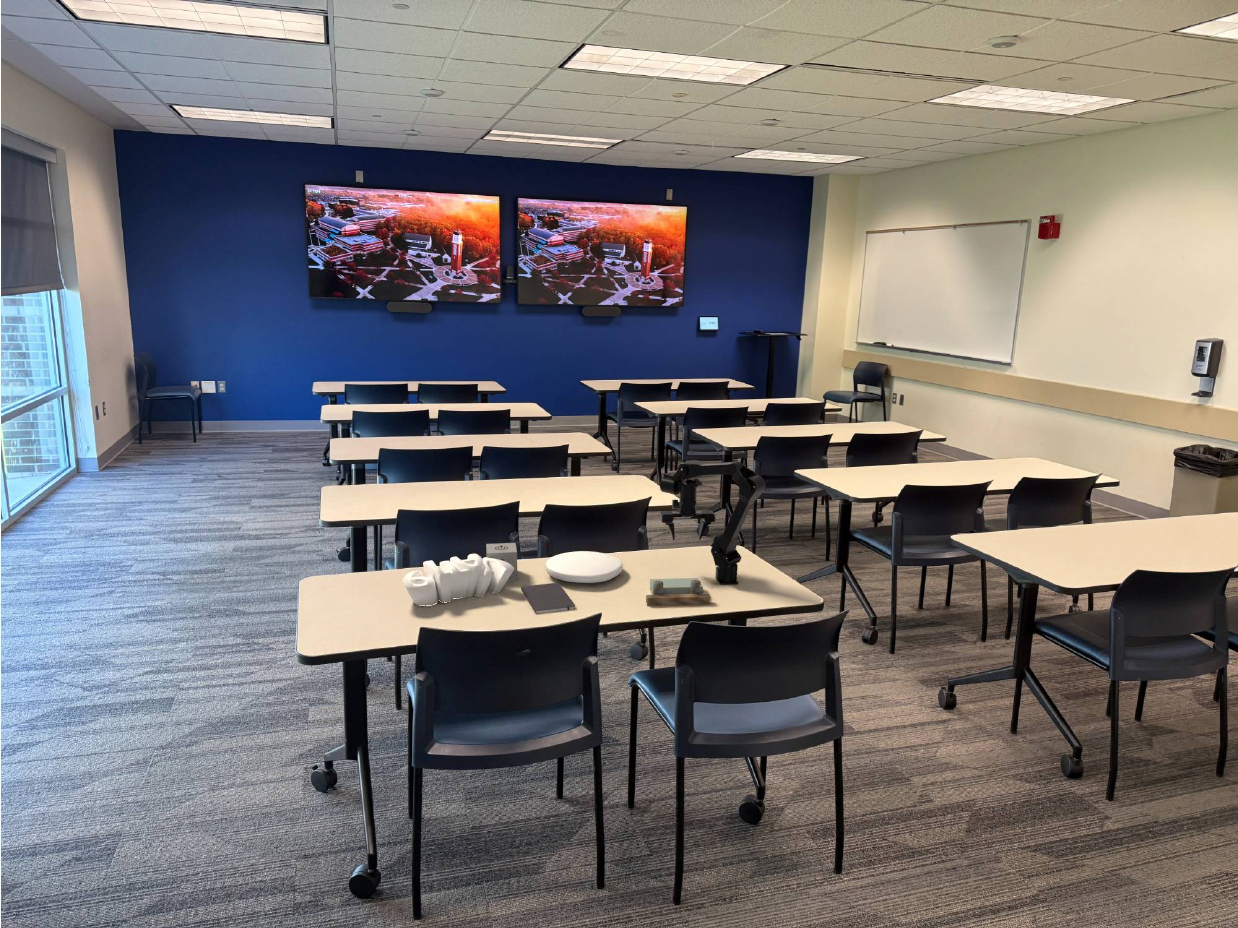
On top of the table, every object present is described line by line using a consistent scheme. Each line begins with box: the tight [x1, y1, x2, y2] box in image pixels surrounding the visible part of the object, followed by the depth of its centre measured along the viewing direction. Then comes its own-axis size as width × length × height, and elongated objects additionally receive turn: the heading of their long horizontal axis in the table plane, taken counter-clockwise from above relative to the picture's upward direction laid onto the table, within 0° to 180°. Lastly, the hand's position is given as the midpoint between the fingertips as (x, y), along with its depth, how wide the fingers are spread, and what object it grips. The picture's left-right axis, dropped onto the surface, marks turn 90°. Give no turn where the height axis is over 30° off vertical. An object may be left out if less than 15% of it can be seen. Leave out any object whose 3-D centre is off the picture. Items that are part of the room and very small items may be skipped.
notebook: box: [520, 582, 576, 615], centre depth 257 cm, size 13×2×21 cm
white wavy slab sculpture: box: [402, 553, 514, 606], centre depth 259 cm, size 35×16×11 cm, turn 118°
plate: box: [544, 550, 624, 584], centre depth 279 cm, size 28×6×27 cm
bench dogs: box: [645, 579, 711, 607], centre depth 256 cm, size 20×6×6 cm, turn 96°
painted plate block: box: [649, 577, 704, 595], centre depth 263 cm, size 16×8×4 cm, turn 96°
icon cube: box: [485, 542, 518, 581], centre depth 276 cm, size 10×10×10 cm
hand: (686, 540), depth 283 cm, fingers open, 9 cm apart
